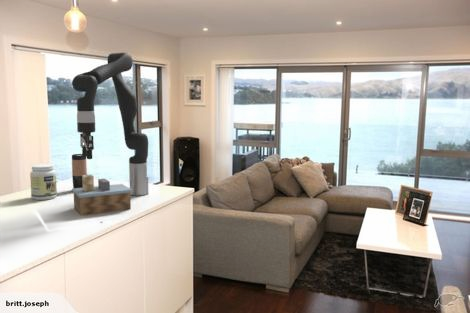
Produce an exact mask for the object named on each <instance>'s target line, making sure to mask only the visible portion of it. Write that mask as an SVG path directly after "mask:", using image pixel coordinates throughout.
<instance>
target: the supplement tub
mask: <svg viewBox="0 0 470 313" xmlns="http://www.w3.org/2000/svg"><path fill="white" fill-rule="evenodd" d="M29 176H30V177H29V178H30V180H29V181H30V196H31V199H32V200H35V201H46V200H51V199H53V200H54V199H55V198H56V197H57V196H58V189H57V173H56V170H55V165H54V164H51V163H42V164H40V163H39V164H33V165H31V171H30V174H29Z"/></svg>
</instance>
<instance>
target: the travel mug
mask: <svg viewBox="0 0 470 313" xmlns="http://www.w3.org/2000/svg"><path fill="white" fill-rule="evenodd" d="M87 166H88V165H87V157H83V156H82V153H74V154H71V170H72V171H71V174H72V189H74V188H83V183H82V175H88V172H87V171H88V168H87Z"/></svg>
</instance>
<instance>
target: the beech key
mask: <svg viewBox="0 0 470 313" xmlns="http://www.w3.org/2000/svg"><path fill="white" fill-rule="evenodd" d="M94 181H95V178H94V175H93V174H87V175H82V183H83V192H90V191H94V186H95V182H94Z"/></svg>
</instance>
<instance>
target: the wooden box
mask: <svg viewBox="0 0 470 313" xmlns="http://www.w3.org/2000/svg"><path fill="white" fill-rule="evenodd" d="M131 204H132V203H131V195H130V192H129V193H120V194H111V195H102V196H92V197H83V198H79V197H78V196H77V195H76V194H75V193H74V192H73V209H74V210H75V211H76V212H77V213H78V214H79V215H80V216H88V215H98V214H105V213H112V212H118V211H121V212H122V211H127V210H131V207H132V206H131Z"/></svg>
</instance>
